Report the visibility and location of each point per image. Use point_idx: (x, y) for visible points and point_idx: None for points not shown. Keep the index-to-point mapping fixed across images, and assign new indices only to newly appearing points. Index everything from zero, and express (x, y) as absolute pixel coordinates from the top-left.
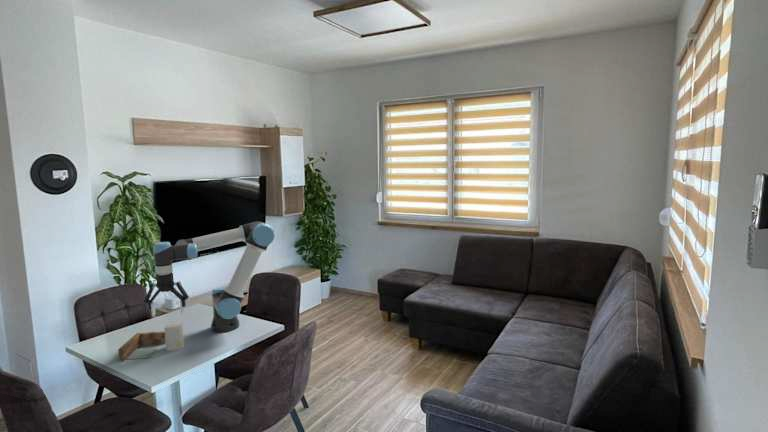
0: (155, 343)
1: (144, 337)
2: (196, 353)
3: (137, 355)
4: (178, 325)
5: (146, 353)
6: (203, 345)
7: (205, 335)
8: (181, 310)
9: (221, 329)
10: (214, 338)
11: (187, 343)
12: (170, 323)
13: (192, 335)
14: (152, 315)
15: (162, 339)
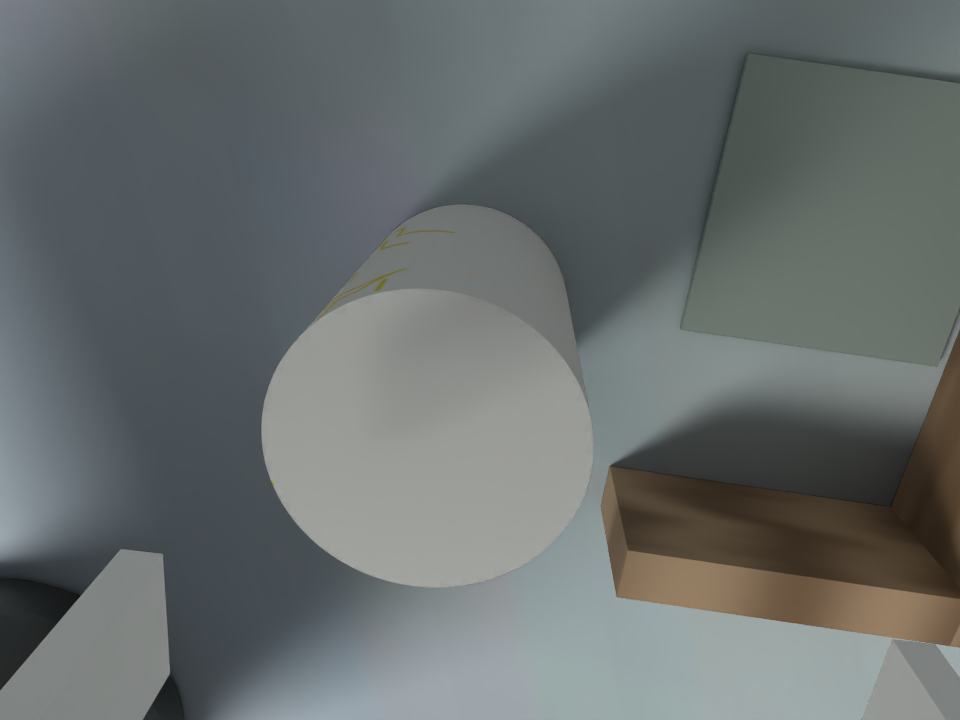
0: (722, 487)
1: (882, 557)
2: (131, 7)
3: (905, 176)
4: (310, 376)
5: (795, 206)
6: (123, 260)
7: (193, 552)
8: (80, 623)
9: (10, 601)
10: (57, 435)
11: None
12: (501, 538)
13: (343, 596)
14: (931, 659)
15: (644, 498)
